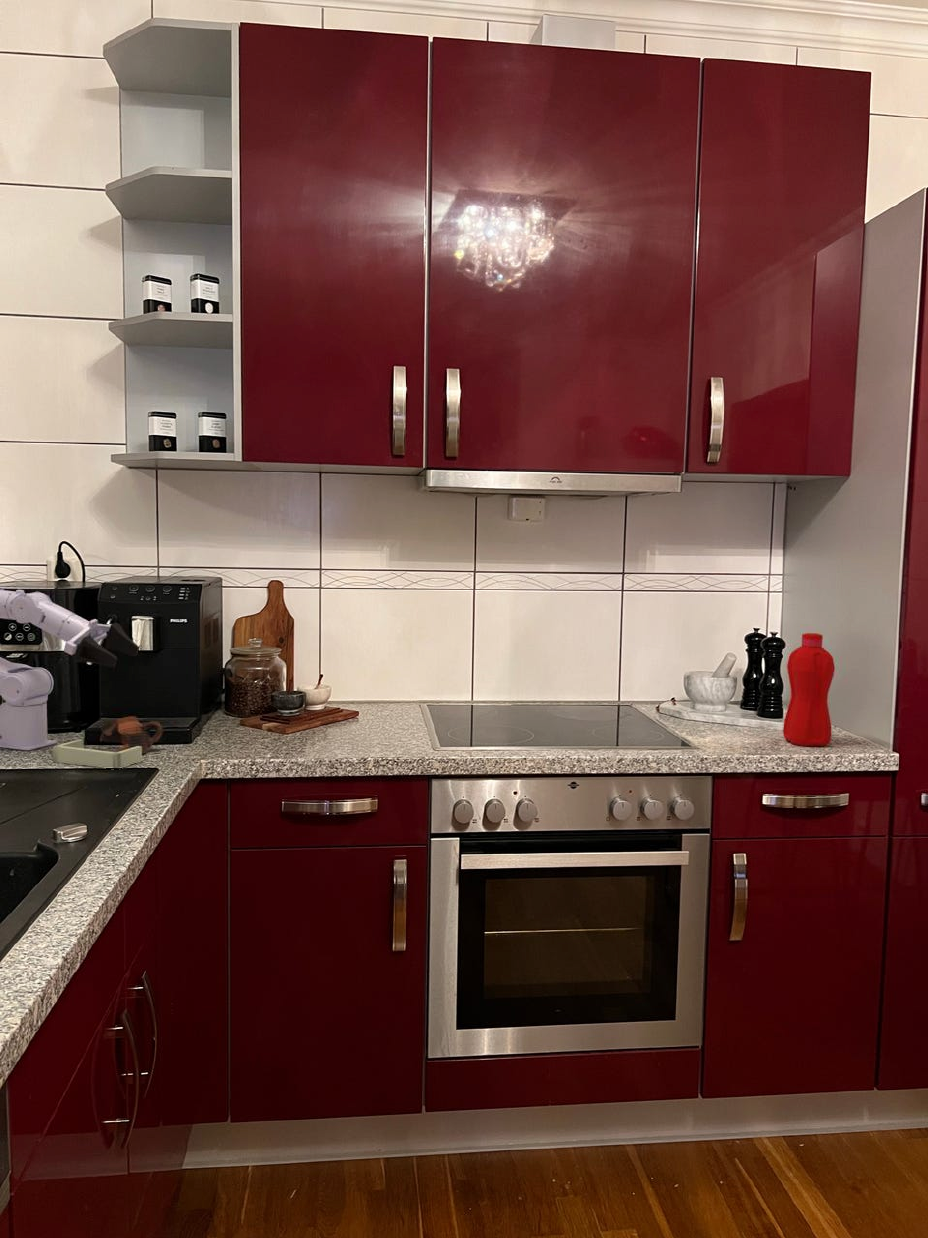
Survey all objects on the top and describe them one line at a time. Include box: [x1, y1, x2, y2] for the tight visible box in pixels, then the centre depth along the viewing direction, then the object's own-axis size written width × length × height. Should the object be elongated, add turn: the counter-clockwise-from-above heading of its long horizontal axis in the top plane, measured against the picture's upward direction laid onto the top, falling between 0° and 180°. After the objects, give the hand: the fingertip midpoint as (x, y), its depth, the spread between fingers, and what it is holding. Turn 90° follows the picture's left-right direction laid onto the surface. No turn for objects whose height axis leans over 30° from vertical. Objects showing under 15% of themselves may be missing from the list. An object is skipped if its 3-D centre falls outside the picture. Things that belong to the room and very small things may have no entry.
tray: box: [52, 738, 143, 768], centre depth 180 cm, size 15×7×3 cm, turn 70°
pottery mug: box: [99, 716, 164, 755], centre depth 190 cm, size 12×10×8 cm
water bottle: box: [782, 632, 836, 747], centre depth 212 cm, size 9×11×25 cm
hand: (126, 657), depth 187 cm, fingers open, 7 cm apart
